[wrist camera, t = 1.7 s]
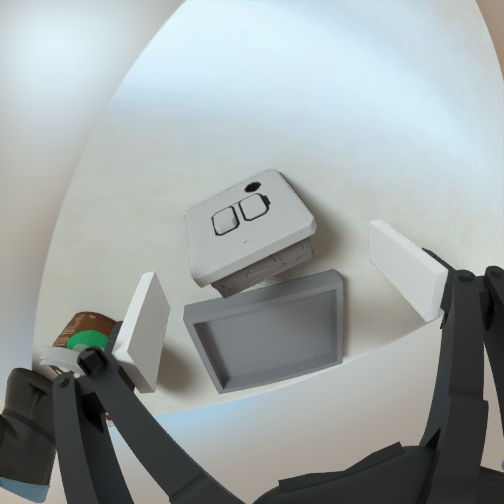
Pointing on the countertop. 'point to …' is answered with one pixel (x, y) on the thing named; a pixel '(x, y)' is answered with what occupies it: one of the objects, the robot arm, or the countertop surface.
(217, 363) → the back box
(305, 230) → the electrical switch
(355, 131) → the countertop surface
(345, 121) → the countertop surface
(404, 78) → the countertop surface
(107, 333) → the food container
